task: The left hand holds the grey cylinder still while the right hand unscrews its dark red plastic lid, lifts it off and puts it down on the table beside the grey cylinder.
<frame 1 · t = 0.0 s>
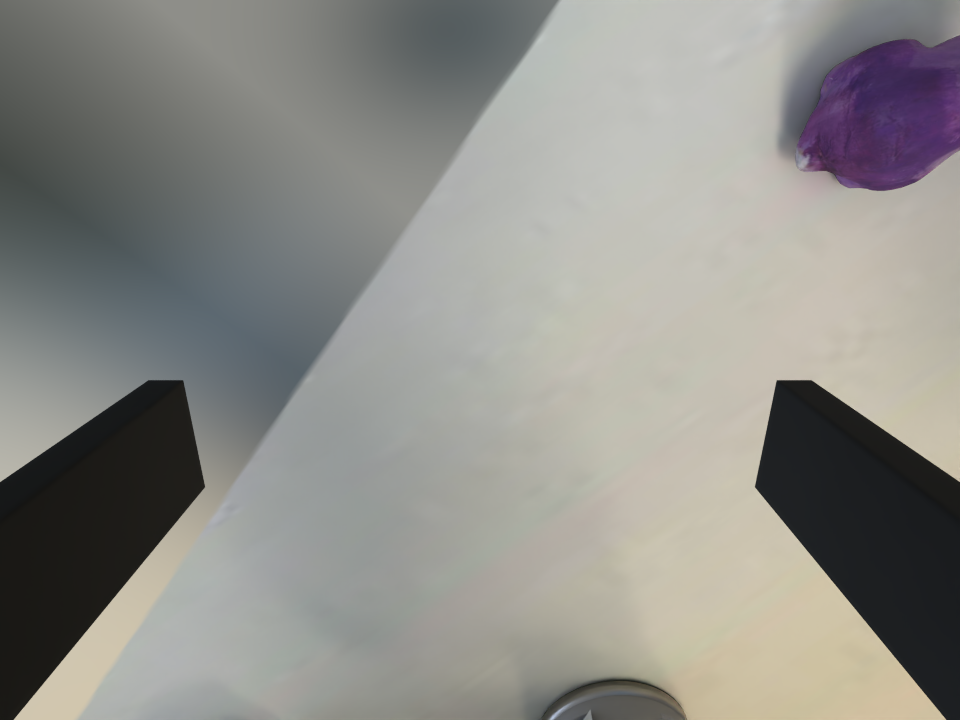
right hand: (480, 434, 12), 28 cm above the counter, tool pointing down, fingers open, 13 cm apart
figurine: (872, 105, 36), on the counter
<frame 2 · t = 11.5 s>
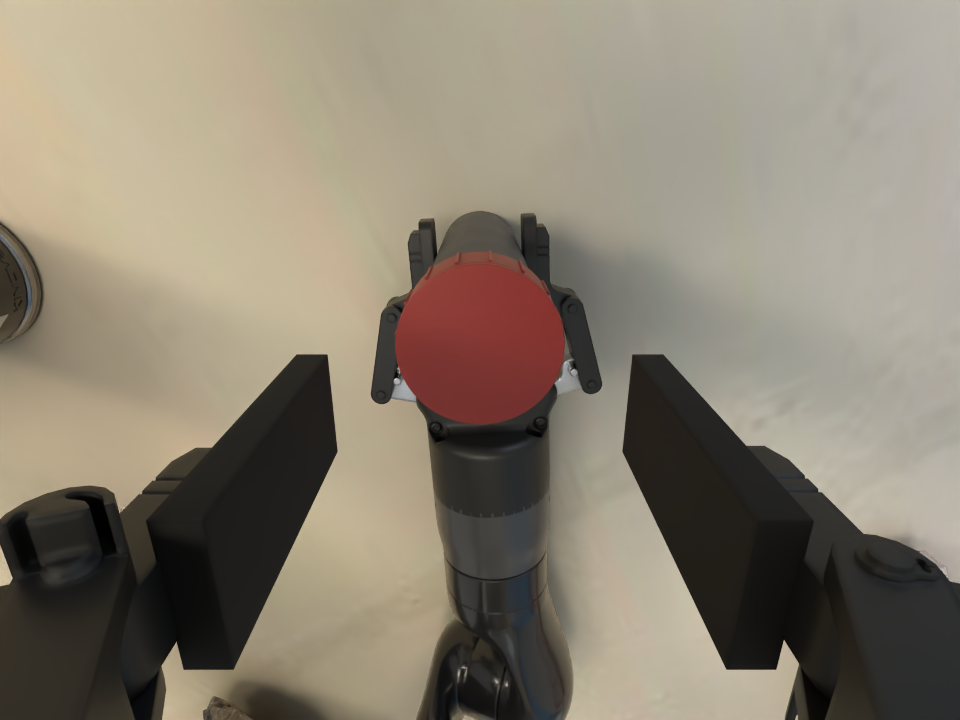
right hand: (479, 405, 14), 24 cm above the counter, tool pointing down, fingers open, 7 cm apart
left hand: (476, 219, 30), fingers closed on grey cylinder, 5 cm apart
grey cylinder: (479, 248, 37), on the counter, touching left hand
lid: (479, 345, 18), point 20 cm above the counter, screwed on, not yet turned
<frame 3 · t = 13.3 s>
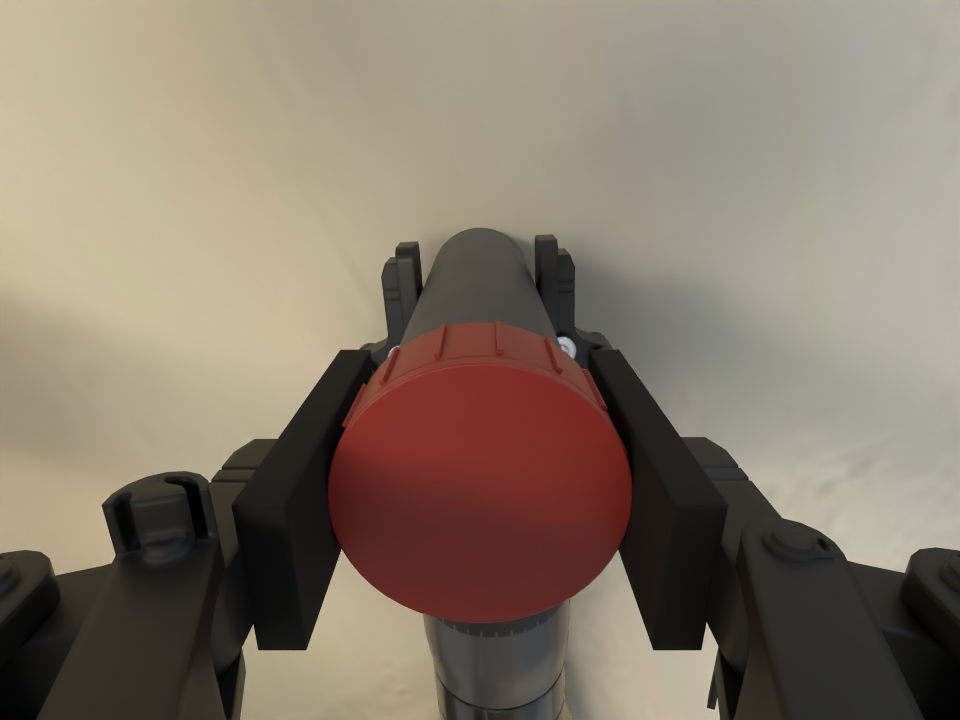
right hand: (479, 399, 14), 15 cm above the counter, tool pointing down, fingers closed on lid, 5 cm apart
grey cylinder: (479, 275, 29), on the counter, touching left hand
lid: (480, 495, 10), point 20 cm above the counter, screwed on, not yet turned, touching right hand
when the right hand's fingers open (0 cm above the counter, at t = 32.3 s): lid stays where it is, point 2 cm above the counter.
when the left hand's fingers open (6 cm above the counter, at t = 32.9 s): grey cylinder stays where it is, on the counter.
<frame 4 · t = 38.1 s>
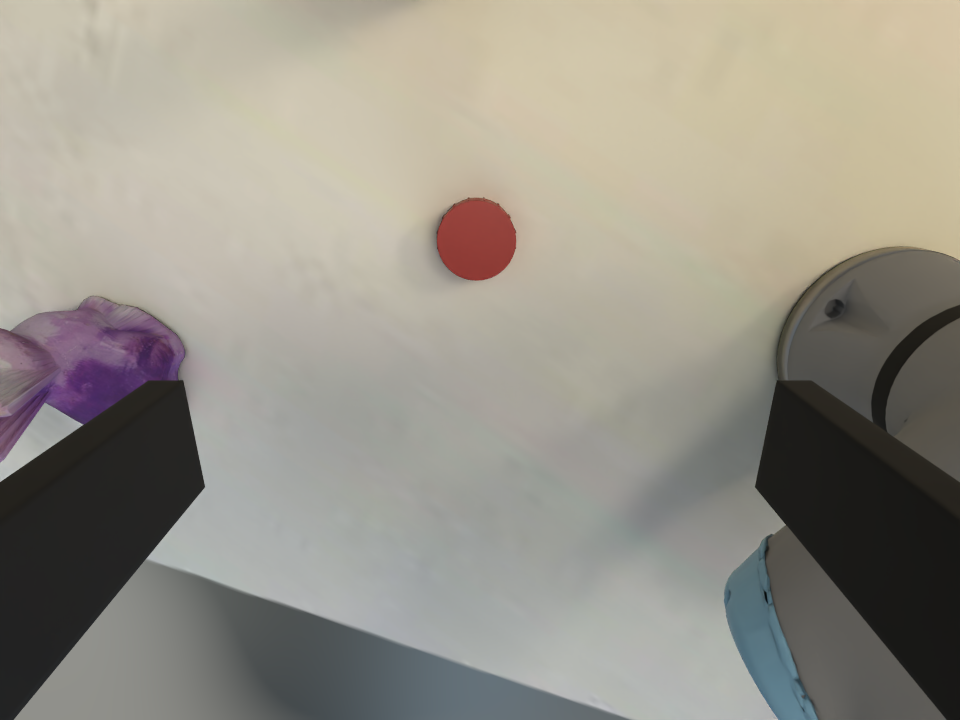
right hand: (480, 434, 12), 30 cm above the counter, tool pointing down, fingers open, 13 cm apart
lid: (476, 240, 39), point 2 cm above the counter, off its thread
figurine: (125, 349, 44), on the counter
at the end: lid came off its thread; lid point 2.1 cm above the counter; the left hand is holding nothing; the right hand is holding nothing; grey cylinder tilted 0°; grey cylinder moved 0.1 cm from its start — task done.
